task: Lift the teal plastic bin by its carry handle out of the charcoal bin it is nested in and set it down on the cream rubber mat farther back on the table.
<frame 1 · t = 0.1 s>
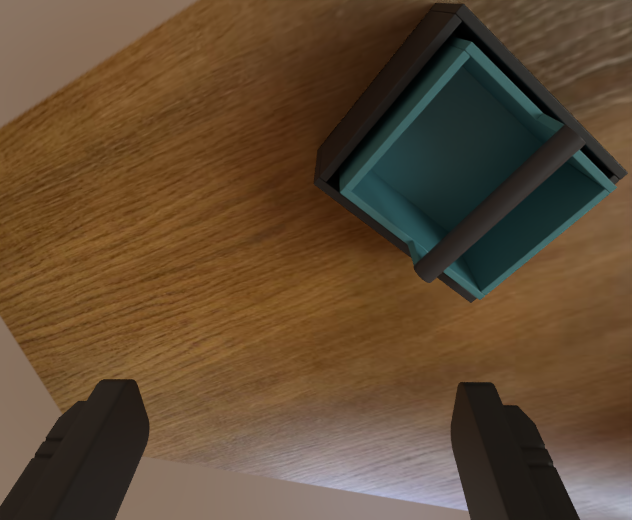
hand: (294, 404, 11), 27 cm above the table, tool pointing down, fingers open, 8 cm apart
teal bin: (444, 147, 35), point 1 cm above the table, touching charcoal bin
charcoal bin: (443, 145, 35), on the table, touching teal bin
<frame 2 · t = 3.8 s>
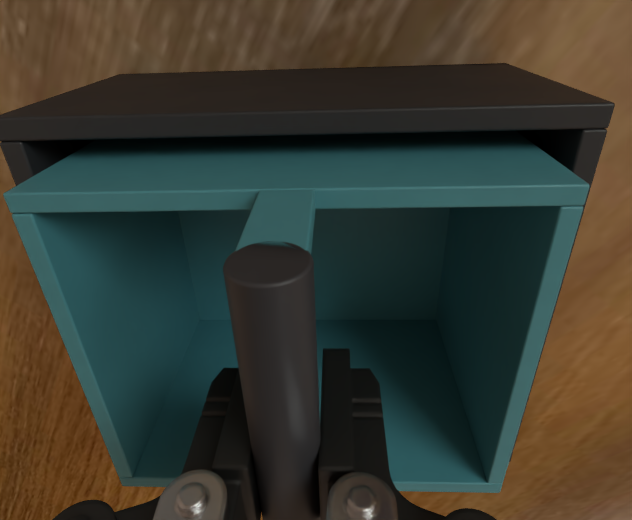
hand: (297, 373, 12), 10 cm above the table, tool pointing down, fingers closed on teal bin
teal bin: (313, 227, 20), point 1 cm above the table, touching charcoal bin, gripper
charcoal bin: (314, 221, 20), on the table, touching teal bin
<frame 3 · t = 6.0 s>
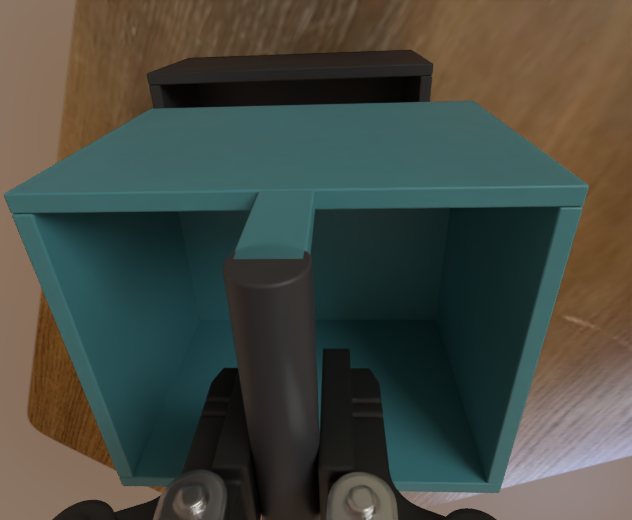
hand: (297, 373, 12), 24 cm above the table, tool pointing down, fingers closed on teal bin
teal bin: (313, 227, 20), point 15 cm above the table, touching gripper
charcoal bin: (303, 150, 33), on the table
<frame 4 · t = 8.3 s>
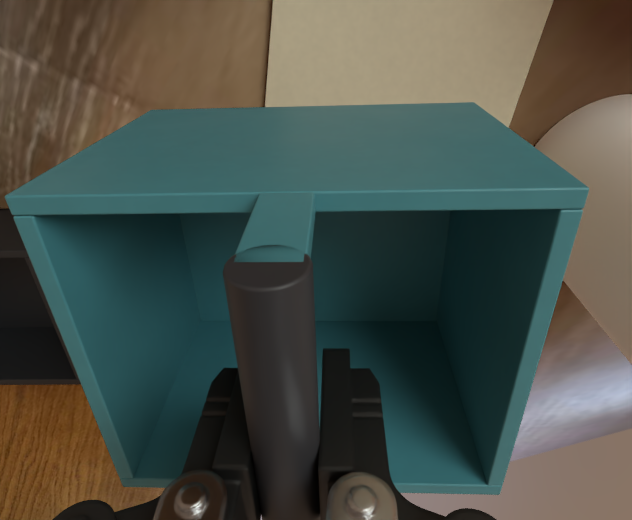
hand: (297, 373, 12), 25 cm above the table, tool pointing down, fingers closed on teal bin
cream mat: (390, 97, 32), on the table
teal bin: (314, 228, 20), point 16 cm above the table, touching gripper
charcoal bin: (25, 273, 41), on the table
canister: (602, 183, 35), on the table
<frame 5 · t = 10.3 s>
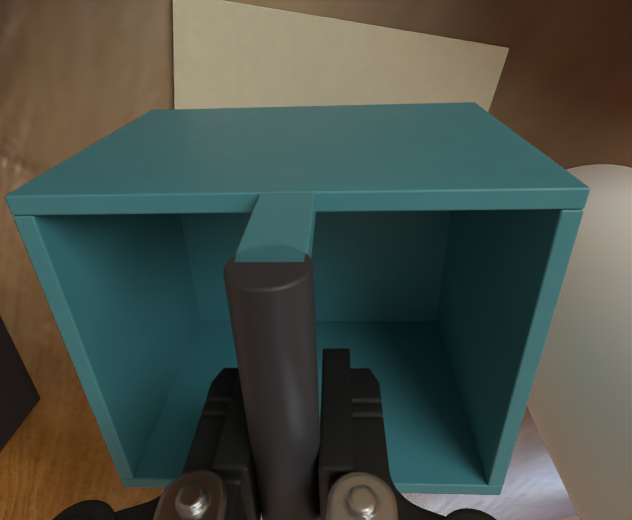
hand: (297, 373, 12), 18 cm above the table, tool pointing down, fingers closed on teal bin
cream mat: (321, 164, 28), on the table
teal bin: (314, 228, 20), point 9 cm above the table, touching gripper
canister: (571, 258, 31), on the table
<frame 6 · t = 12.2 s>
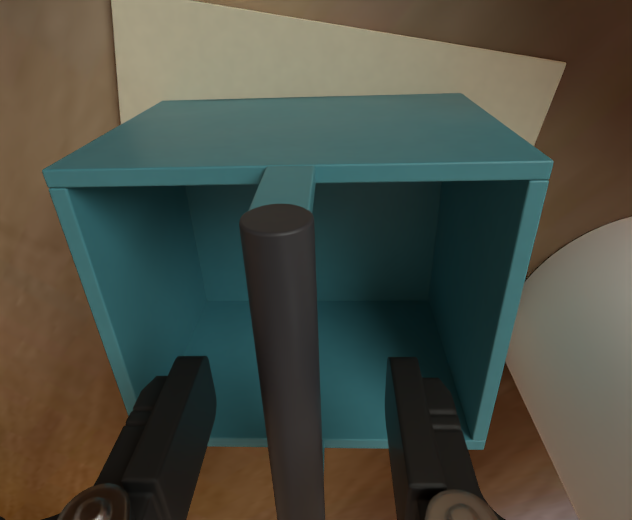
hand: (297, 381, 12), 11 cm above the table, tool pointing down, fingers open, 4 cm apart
cream mat: (314, 209, 22), on the table
teal bin: (313, 212, 21), resting on cream mat
canister: (627, 321, 25), on the table
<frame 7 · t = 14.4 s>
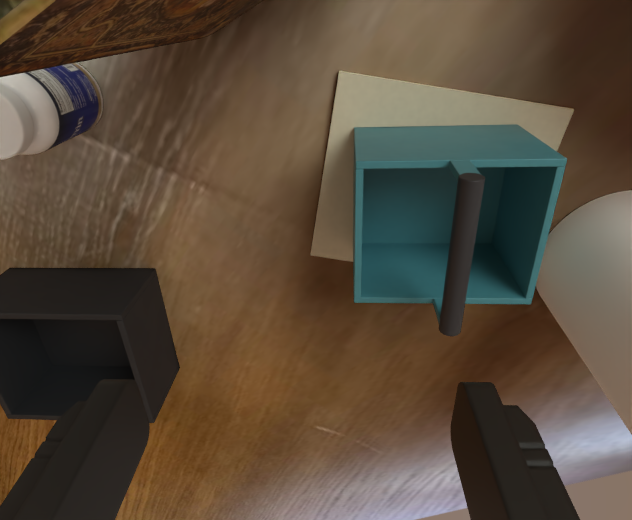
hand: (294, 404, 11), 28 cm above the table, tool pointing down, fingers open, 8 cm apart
cream mat: (428, 188, 38), on the table
teal bin: (428, 189, 37), resting on cream mat
charcoal bin: (99, 320, 47), on the table
pill bottle: (72, 94, 36), on the table
canister: (612, 260, 40), on the table
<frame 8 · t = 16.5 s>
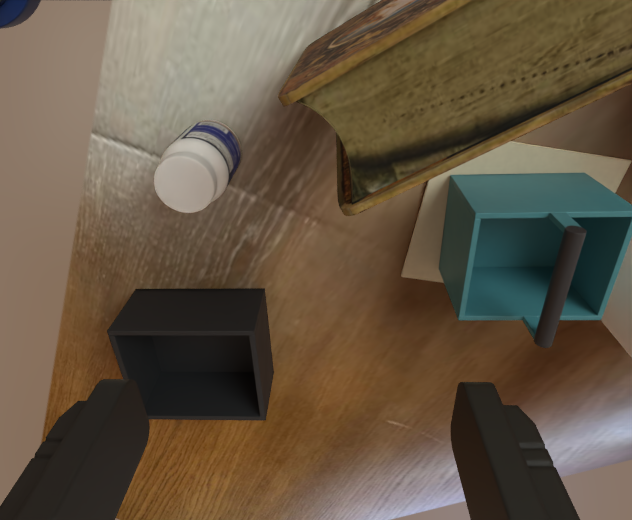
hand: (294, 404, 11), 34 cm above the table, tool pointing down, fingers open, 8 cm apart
cream mat: (505, 222, 45), on the table
book: (410, 24, 37), on the table
teal bin: (506, 223, 45), resting on cream mat
charcoal bin: (208, 332, 54), on the table
pill bottle: (213, 148, 43), on the table
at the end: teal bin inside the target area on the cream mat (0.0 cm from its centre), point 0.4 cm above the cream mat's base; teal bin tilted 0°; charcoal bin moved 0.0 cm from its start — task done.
